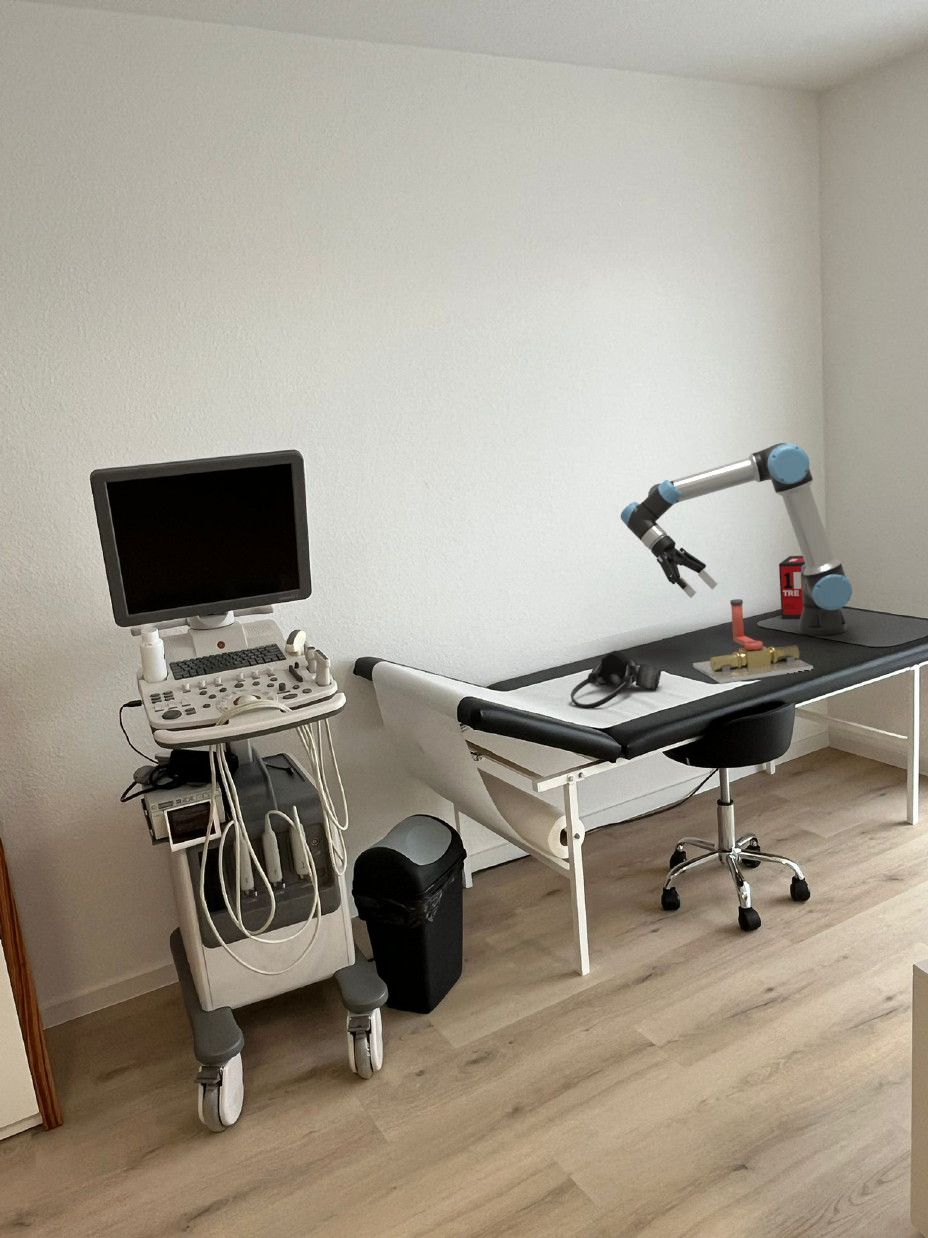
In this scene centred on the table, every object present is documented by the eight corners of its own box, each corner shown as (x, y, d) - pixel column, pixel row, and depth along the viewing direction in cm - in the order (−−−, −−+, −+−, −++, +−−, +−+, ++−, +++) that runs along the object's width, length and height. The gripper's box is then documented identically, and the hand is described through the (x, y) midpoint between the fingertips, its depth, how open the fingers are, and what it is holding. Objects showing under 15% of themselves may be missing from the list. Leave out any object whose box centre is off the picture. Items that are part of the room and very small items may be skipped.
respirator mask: (671, 674, 282) (648, 639, 272) (641, 744, 272) (616, 710, 262) (606, 667, 297) (582, 634, 287) (575, 734, 287) (549, 702, 277)
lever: (765, 648, 286) (763, 606, 284) (749, 650, 286) (747, 608, 283) (744, 638, 301) (741, 598, 299) (728, 640, 300) (726, 600, 298)
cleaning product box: (792, 609, 362) (789, 556, 358) (817, 609, 358) (814, 555, 354) (781, 619, 348) (779, 563, 345) (807, 619, 344) (805, 563, 340)
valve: (779, 654, 302) (778, 635, 301) (812, 669, 281) (812, 649, 280) (693, 667, 298) (691, 648, 297) (720, 683, 278) (719, 663, 277)
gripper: (672, 544, 321) (716, 590, 314) (631, 557, 303) (677, 606, 296) (685, 528, 317) (730, 575, 310) (644, 540, 299) (691, 590, 292)
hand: (704, 590), depth 303 cm, fingers open, 13 cm apart
